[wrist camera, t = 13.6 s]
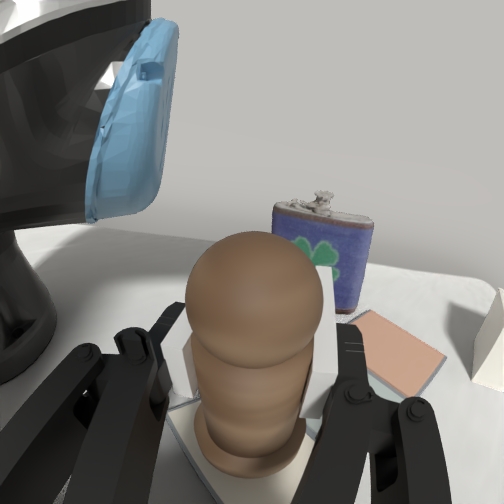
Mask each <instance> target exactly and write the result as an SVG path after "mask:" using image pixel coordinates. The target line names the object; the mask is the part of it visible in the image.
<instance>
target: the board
mask: <svg viewBox="0 0 504 504" xmlns="http://www.w3.org/2000/svg"><path fill="white" fill-rule="evenodd" d="M348 324H354V325H356V326H357V327H358V328H359V330H360V331H361V333H362V337H363V345H364V350H365V351H364V353H365V357H366V365H367V373H368V381H369V385H370V386H371V387H372V388H373V390H374V391H375V393H376V394H377V395H379V396H380V397H382V398H384V399H387V400H391V401H394V402H398V403H401V402H402V401H403V400H404V399H405V398H408V397H412V396H415V397H419V396H420V395H421V394H422V392H423V391H424V390H425V389H426V387H427V386H428V385H429V383H430V382H431V381H432V379H433V378H434V377H435V375H436V374H437V373H438V371H439V370H440V368H441V367H442V365H443V364H444V362H445V361H446V359H447V357H446V356H445V355H444V354H442V353H440V352H439V351H437V350H436V349H434V348H432V347H431V346H429V345H428V344H426V343H424V342H423V341H421V340H419V339H418V338H416V337H415V336H413V335H411V334H410V333H408V332H407V331H405V330H403V329H402V328H400V327H398V326H397V325H395V324H394V323H392V322H390V321H389V320H387V319H385V318H384V317H382V316H380V315H379V314H377V313H376V312H374V311H372V310H368V311H367V312H365V313H364V314H362V315H360V316H359V317H357V318H356V319H354V320H353V321H351V322H349V323H348ZM200 403H201V398H199V399H196V400H194V401H191V402H189V403H186V404H183V405H181V406H178V407H175V408H173V409H170V410H167V414H166V420H167V422H168V424H169V426H170V428H171V430H172V431H173V433H174V435H175V437H176V439H177V441H178V442H179V444H180V446H181V448H182V449H183V451H184V453H185V455H186V456H187V458H188V460H189V461H190V463H191V465H192V466H193V468H194V469H195V471H196V473H197V474H198V476H199V477H200V479H201V480H202V482H203V483H204V485H205V486H206V488H207V489H208V491H209V492H210V494H211V495H212V496H213V498H214V499H215V501H216V502H217V503H218V504H290V503H291V501H292V499H293V496H294V494H295V492H296V490H297V487H298V485H299V482H300V480H301V477H302V475H303V472H304V470H305V467H306V465H307V462H308V459H309V457H310V454H311V451H312V448H313V446H314V443H315V440H316V439H315V437H316V435H317V433H318V431H319V429H320V426H321V424H322V416H321V418H320V419H308V418H306V433H305V437H304V439H303V442H302V444H301V447H300V449H299V451H298V454H297V455H296V457H295V458H294V460H293V461H292V462H291V463H290V464H289V465H288V466H286V467H285V468H284V469H282V470H281V471H279V472H277V473H275V474H273V475H270V476H267V477H262V478H254V479H246V478H238V477H234V476H230V475H228V474H225V473H223V472H221V471H219V470H218V469H216V468H215V467H214V466H212V465H211V464H210V463H209V462H208V461H207V460H206V459H205V457H204V456H203V454H202V452H201V450H200V448H199V445H198V442H197V439H196V435H195V432H194V417H195V413H196V410H197V408H198V406H199V405H200ZM300 406H301V405H300Z"/></svg>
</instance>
